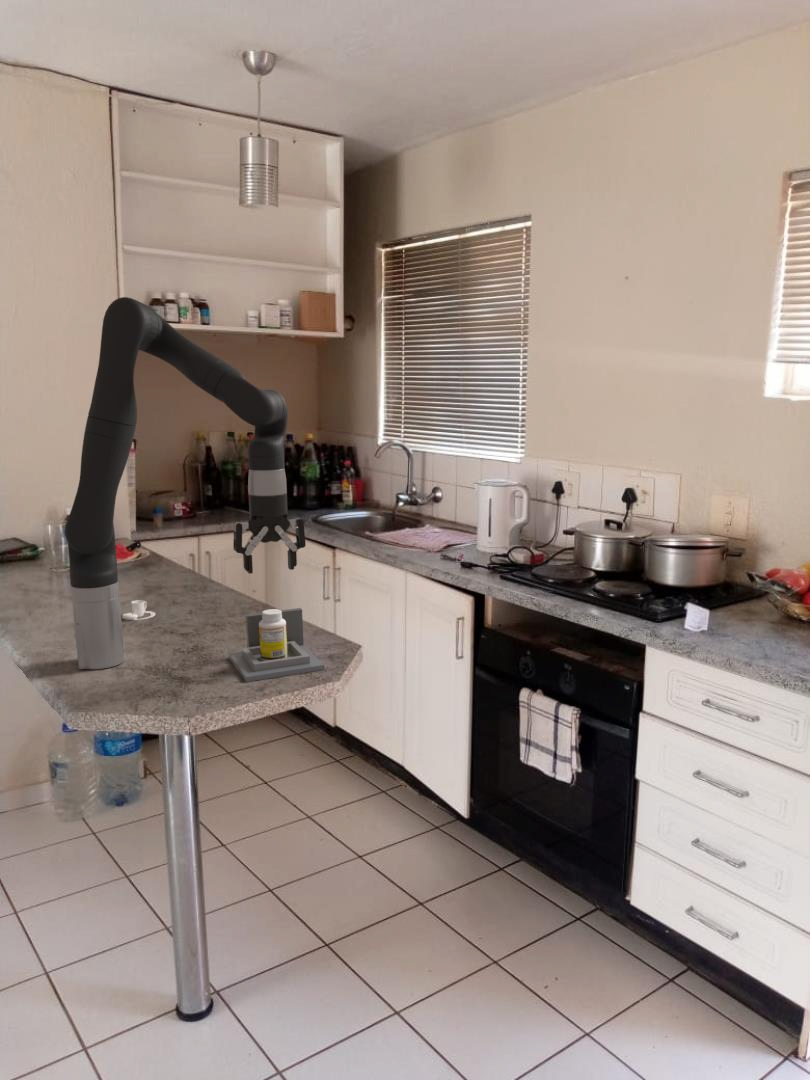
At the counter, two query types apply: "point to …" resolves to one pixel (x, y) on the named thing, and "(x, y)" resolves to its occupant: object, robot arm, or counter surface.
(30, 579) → the counter surface
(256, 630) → the charging dock
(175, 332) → the robot arm
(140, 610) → the teacup and saucer
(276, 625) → the supplement bottle
